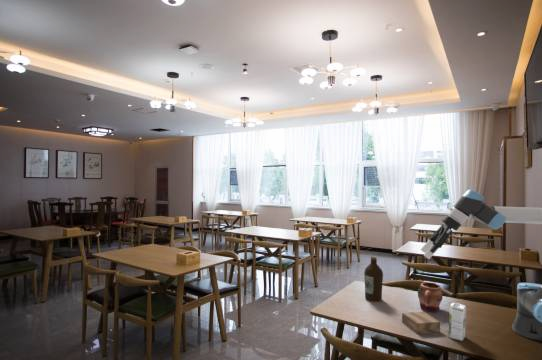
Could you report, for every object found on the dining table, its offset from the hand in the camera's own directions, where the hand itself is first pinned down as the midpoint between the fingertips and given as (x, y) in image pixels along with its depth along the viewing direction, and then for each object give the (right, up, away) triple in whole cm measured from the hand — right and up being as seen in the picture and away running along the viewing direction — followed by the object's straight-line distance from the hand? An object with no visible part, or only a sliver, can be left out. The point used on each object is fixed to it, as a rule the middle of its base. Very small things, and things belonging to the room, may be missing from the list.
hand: (424, 254), depth 154 cm
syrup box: (+11, -36, -7) cm, 39 cm away
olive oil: (-12, -36, +39) cm, 55 cm away
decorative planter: (+14, -36, +24) cm, 45 cm away
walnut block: (-1, -36, +3) cm, 36 cm away
